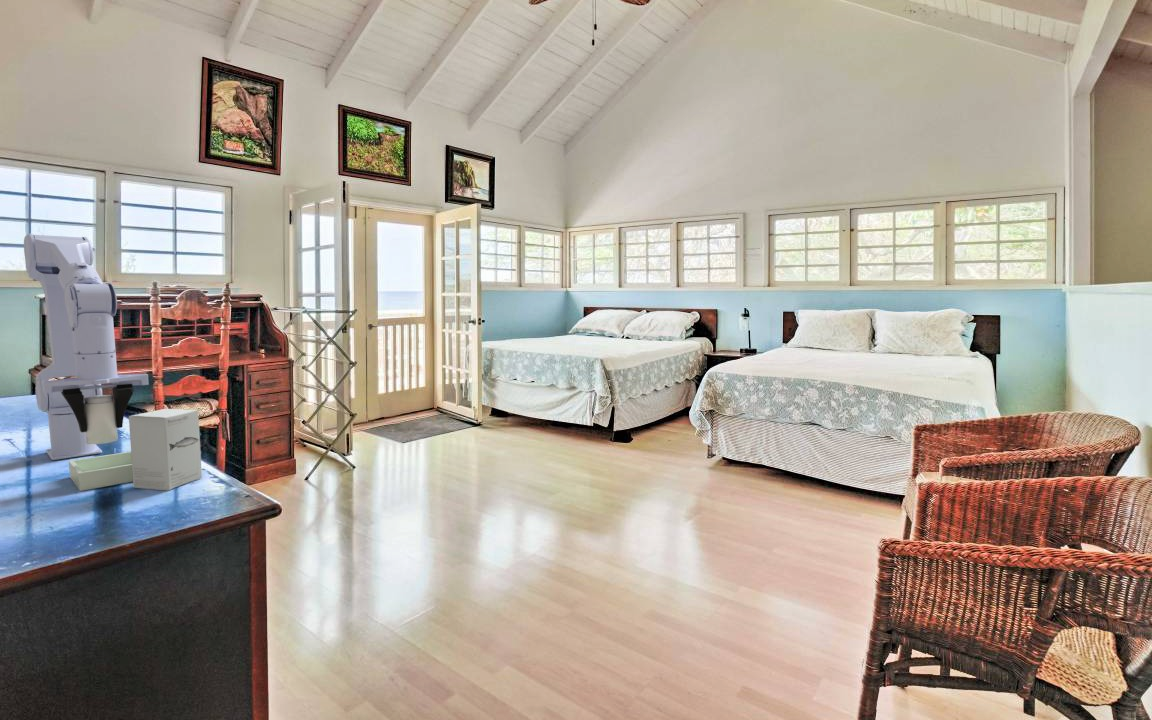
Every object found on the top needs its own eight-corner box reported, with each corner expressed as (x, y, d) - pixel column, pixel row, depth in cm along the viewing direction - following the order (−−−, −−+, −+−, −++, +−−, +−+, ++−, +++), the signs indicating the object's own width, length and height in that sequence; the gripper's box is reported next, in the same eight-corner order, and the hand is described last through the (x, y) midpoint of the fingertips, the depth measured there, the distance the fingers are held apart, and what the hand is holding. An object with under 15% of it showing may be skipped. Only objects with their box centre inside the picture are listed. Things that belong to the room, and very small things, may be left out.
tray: (70, 477, 110) (68, 460, 109) (143, 464, 118) (142, 449, 117) (79, 490, 102) (78, 473, 102) (157, 477, 110) (156, 460, 110)
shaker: (83, 441, 108) (80, 397, 107) (114, 437, 111) (110, 394, 111) (89, 445, 105) (85, 399, 104) (120, 440, 108) (116, 396, 108)
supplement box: (168, 491, 102) (163, 417, 101) (132, 488, 104) (126, 415, 102) (203, 478, 109) (199, 409, 108) (168, 475, 111) (164, 407, 110)
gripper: (43, 357, 99) (50, 439, 100) (150, 351, 109) (155, 426, 110) (38, 354, 103) (45, 432, 105) (141, 349, 114) (146, 420, 115)
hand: (101, 429), depth 108 cm, fingers closed on shaker, 4 cm apart
